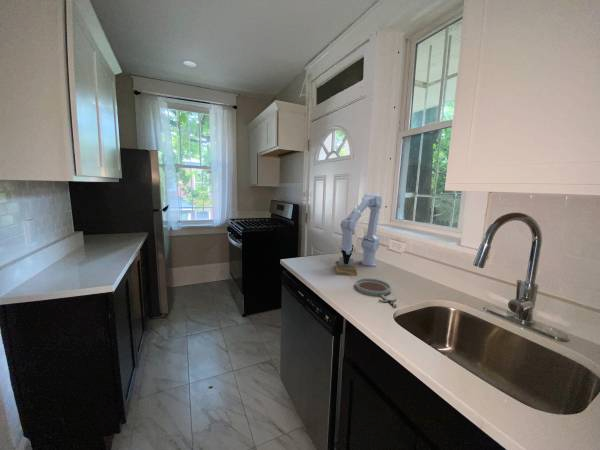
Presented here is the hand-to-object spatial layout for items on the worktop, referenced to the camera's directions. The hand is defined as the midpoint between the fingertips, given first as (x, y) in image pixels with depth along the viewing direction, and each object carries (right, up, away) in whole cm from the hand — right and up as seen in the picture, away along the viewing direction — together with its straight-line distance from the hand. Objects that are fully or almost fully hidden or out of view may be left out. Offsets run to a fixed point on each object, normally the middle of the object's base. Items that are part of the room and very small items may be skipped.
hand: (345, 263), depth 146 cm
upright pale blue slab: (0, -4, +1) cm, 4 cm away
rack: (0, -4, +1) cm, 4 cm away
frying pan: (+10, -10, -29) cm, 33 cm away
